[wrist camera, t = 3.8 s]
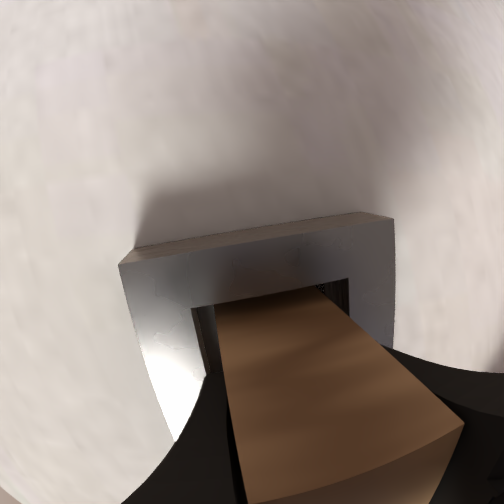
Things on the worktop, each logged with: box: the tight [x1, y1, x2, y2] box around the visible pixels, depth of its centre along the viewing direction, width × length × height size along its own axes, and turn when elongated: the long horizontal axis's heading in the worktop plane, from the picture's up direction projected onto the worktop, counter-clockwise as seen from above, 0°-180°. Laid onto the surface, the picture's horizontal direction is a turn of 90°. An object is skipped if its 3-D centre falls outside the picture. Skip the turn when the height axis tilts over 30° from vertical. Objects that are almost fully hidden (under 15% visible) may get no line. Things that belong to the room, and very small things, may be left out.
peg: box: [213, 285, 465, 504], centre depth 9 cm, size 4×4×9 cm
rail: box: [118, 212, 395, 442], centre depth 14 cm, size 9×27×3 cm, turn 8°
